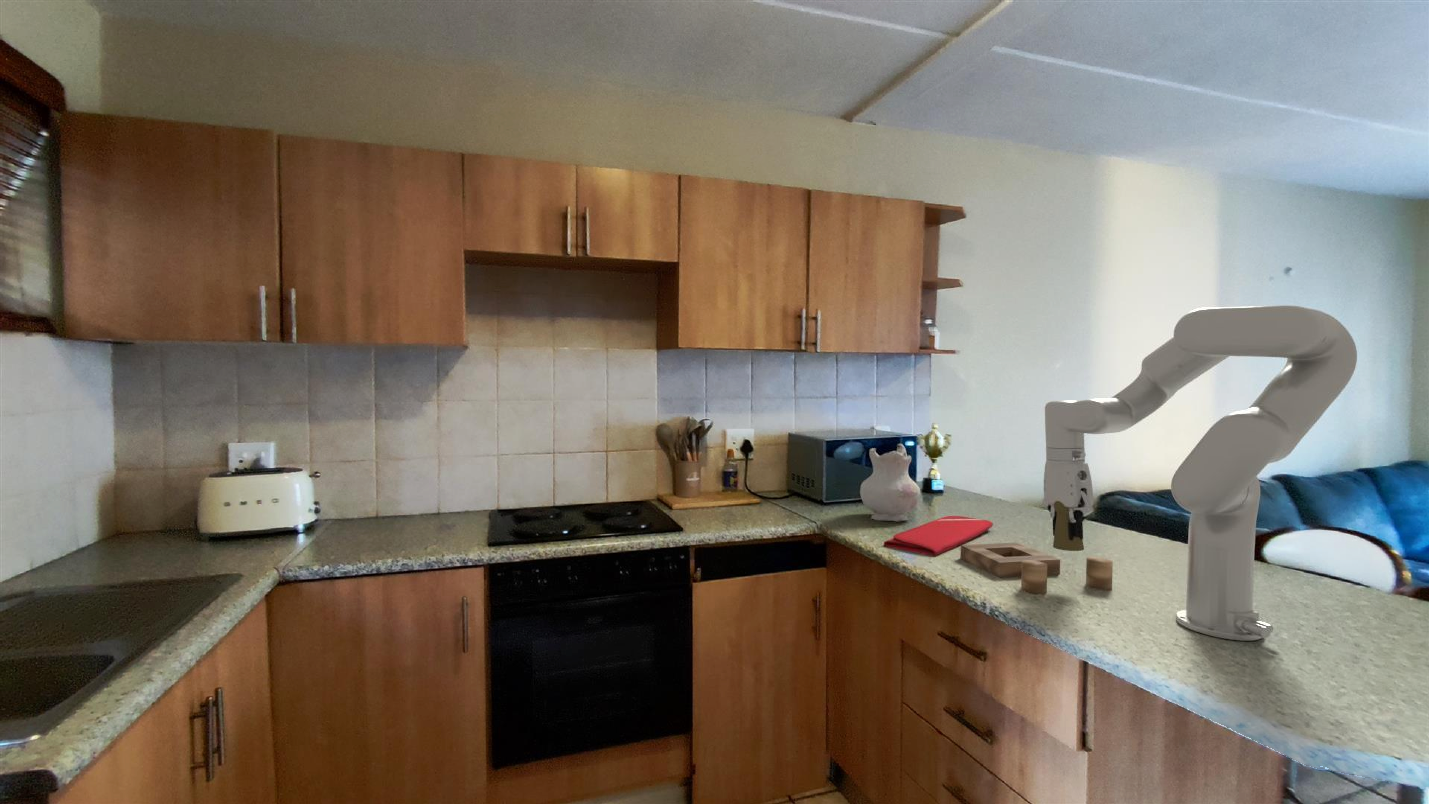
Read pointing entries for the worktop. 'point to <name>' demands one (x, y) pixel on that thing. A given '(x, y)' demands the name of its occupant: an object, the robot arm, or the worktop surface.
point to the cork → (1064, 530)
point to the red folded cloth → (939, 535)
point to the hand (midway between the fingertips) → (1067, 537)
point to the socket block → (1006, 558)
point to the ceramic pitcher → (890, 486)
